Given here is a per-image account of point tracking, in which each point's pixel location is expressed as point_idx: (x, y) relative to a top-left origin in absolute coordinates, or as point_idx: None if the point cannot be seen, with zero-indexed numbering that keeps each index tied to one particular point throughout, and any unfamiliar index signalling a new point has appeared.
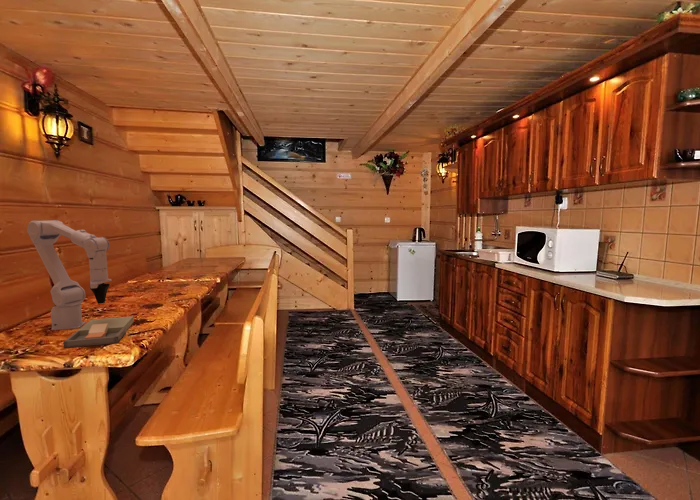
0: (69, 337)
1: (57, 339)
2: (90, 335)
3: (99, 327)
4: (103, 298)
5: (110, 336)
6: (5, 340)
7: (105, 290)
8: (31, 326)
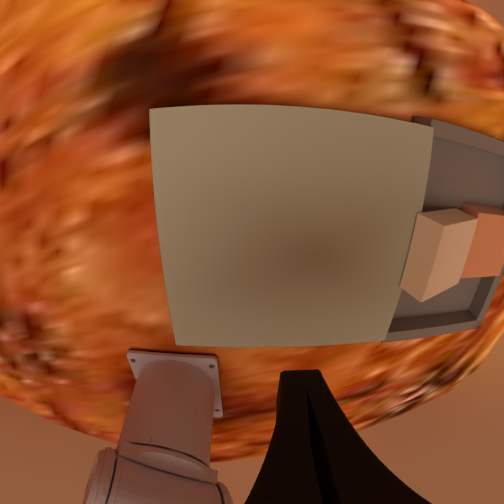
0: (448, 331)
1: (350, 370)
2: (487, 263)
3: (451, 255)
4: (339, 412)
5: (461, 184)
6: None
7: (382, 491)
8: None
